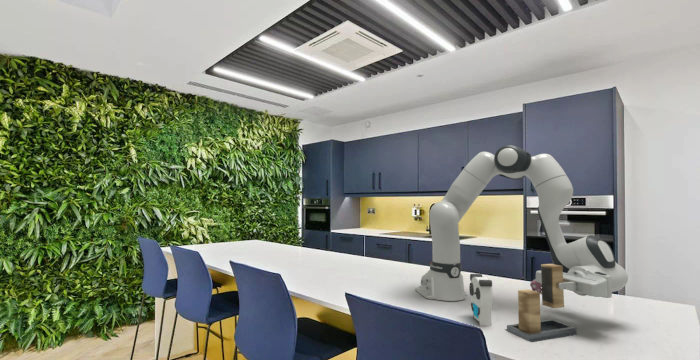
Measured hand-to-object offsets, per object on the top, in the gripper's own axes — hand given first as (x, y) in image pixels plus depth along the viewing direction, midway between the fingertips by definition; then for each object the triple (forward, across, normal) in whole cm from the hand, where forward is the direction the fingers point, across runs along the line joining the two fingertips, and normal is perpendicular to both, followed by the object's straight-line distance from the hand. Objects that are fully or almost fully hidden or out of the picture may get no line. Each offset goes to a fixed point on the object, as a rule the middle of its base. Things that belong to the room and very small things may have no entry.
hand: (550, 283), depth 105 cm
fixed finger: (+8, 0, +14) cm, 16 cm away
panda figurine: (+14, -13, +15) cm, 24 cm away
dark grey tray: (+4, 0, +15) cm, 15 cm away
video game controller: (-38, -36, +15) cm, 55 cm away
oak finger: (-1, 0, +6) cm, 7 cm away
